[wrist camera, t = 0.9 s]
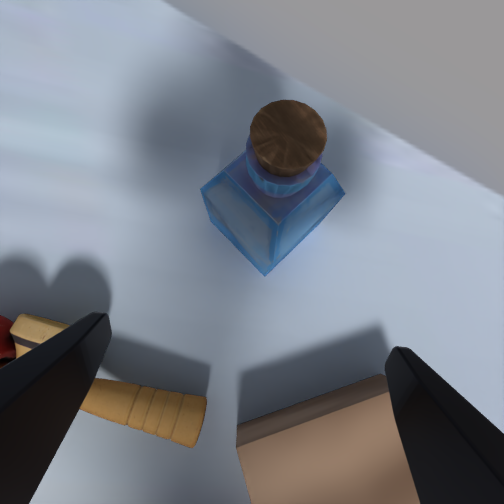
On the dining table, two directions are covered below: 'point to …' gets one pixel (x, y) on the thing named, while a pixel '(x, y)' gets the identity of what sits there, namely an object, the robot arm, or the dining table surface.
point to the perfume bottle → (274, 185)
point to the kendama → (114, 389)
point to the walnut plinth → (328, 451)
